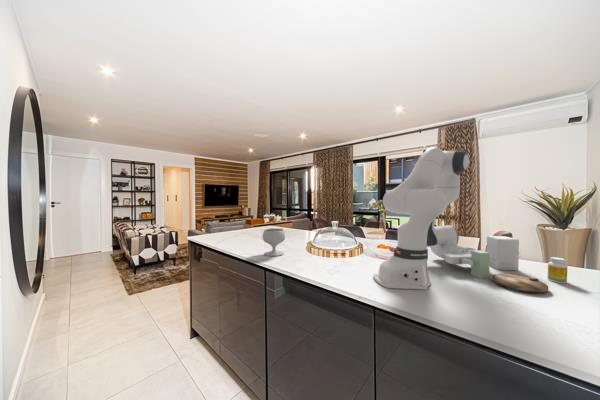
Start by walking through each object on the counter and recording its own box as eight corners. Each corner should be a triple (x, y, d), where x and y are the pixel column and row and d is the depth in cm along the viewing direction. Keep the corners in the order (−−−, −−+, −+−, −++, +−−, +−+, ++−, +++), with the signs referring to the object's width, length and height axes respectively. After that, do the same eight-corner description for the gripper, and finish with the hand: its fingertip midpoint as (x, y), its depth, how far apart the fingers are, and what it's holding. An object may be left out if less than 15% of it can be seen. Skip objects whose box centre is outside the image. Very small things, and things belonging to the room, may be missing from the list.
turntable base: (520, 293, 82) (520, 291, 82) (488, 280, 95) (488, 278, 95) (552, 292, 83) (552, 290, 83) (516, 278, 96) (516, 277, 96)
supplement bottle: (546, 277, 97) (547, 255, 97) (565, 280, 94) (565, 258, 94) (548, 281, 93) (549, 258, 93) (568, 284, 90) (569, 261, 90)
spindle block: (479, 278, 97) (480, 253, 97) (470, 274, 102) (471, 250, 101) (489, 277, 98) (489, 252, 97) (480, 274, 102) (480, 250, 102)
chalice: (258, 253, 139) (258, 229, 138) (276, 250, 148) (276, 227, 148) (271, 258, 129) (271, 232, 128) (290, 254, 138) (289, 229, 138)
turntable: (521, 293, 80) (521, 288, 80) (481, 276, 96) (481, 272, 96) (561, 291, 82) (561, 286, 82) (516, 275, 98) (516, 271, 98)
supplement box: (519, 271, 106) (520, 239, 105) (497, 269, 108) (498, 238, 107) (505, 265, 115) (506, 235, 114) (485, 264, 116) (486, 235, 116)
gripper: (437, 249, 111) (459, 256, 98) (476, 248, 113) (503, 255, 99) (437, 261, 112) (459, 271, 98) (476, 260, 113) (502, 269, 99)
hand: (481, 263), depth 99 cm, fingers open, 6 cm apart
